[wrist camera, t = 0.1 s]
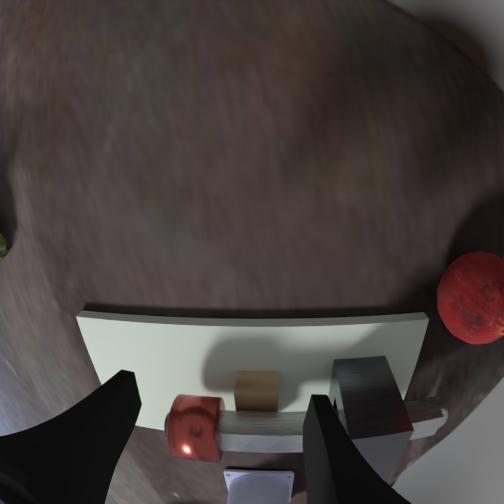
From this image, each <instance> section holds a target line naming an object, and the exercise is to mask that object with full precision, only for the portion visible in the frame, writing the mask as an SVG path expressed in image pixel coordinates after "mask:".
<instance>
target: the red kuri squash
mask: <svg viewBox="0 0 504 504" xmlns="http://www.w3.org/2000/svg"><path fill="white" fill-rule="evenodd" d="M437 303H438V312H439V314H440V317H441V319H442V321H443V322H444V324H445V326H446V327H447V329H448V330H449V331H450V332H451V333H452V334H453V335H454V336H456V337H457V338H459V339H461V340H463V341H465V342H467V343H470V344H485V343H490V342H493V341H495V340H497V339H499V338H501V337H502V336H504V261H503V260H501V259H500V258H499V257H498V256H497V255H494V254H490V253H486V252H482V251H476V252H472V253H467V254H463V255H461V256H460V257H459V258H457V259H456V260H454V261H453V262H452V263H451V264H450V265H449V267H448V268H447V269H446V270H445V272H444V273H443V274H442V277H441V280H440V283H439V285H438V288H437Z"/></svg>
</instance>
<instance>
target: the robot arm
mask: <svg viewBox="0 0 504 504" xmlns="http://www.w3.org/2000/svg"><path fill="white" fill-rule="evenodd" d="M141 406H142V402H141V398H140V394H139V390H138V386H137V381H136V377H135V373H134V372H131V371H127V370H123V369H121V370H120V371H119V372H117V373H116V374H115V375H114V376H112V377H111V378H110V379H109V380H107V381H106V382H105V383H104V384H102V385H101V386H100V387H99V388H97V389H96V390H95V391H94V392H92V393H91V394H90V395H88V396H87V397H86V398H84V399H83V400H81V401H80V402H79V403H77V404H76V405H74V406H73V407H71V408H70V409H68V410H67V411H65V412H63V413H62V414H60V415H58V416H56V417H54V418H52V419H50V420H48V421H46V422H44V423H41V424H39V425H37V426H34V427H32V428H29V429H26V430H24V431H20V432H17V433H13V434H10V435H5V436H0V504H105V500H106V496H107V492H108V489H109V485H110V482H111V479H112V476H113V473H114V469H115V467H116V465H117V462H118V460H119V458H120V456H121V454H122V452H123V450H124V447H125V445H126V443H127V441H128V439H129V437H130V435H131V433H132V431H133V429H134V427H135V424H136V422H137V419H138V416H139V413H140V409H141ZM302 447H303V457H304V467H305V476H306V486H307V504H411V503H410V502H409V501H407V500H406V499H404V498H403V497H402V496H401V495H399V494H398V493H397V492H396V491H395V490H394V489H393V488H392V487H391V486H390V485H389V484H387V483H386V482H385V481H384V480H383V479H382V478H381V477H380V476H379V475H378V474H377V472H376V471H375V470H374V469H373V468H372V467H371V466H370V464H369V463H368V462H367V461H366V459H365V458H364V457H363V456H362V454H361V453H360V451H359V450H358V449H357V447H356V446H355V444H354V443H353V441H352V440H351V438H350V436H349V435H348V433H347V431H346V430H345V428H344V426H343V425H342V423H341V421H340V419H339V417H338V415H337V414H336V412H335V410H334V408H333V405H332V403H331V401H330V399H329V397H328V396H327V395H323V394H311V398H310V401H309V405H308V409H307V412H306V416H305V419H304V423H303V446H302ZM224 476H225V480H226V484H227V488H228V491H229V492H228V499H227V504H289V502H290V501H291V494H292V487H293V480H294V472H293V471H255V470H236V469H225V470H224Z"/></svg>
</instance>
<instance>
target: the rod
mask: <svg viewBox="0 0 504 504" xmlns="http://www.w3.org/2000/svg"><path fill="white" fill-rule="evenodd" d="M404 404H405V406H406V409H407V412H408V414H409V417H410V420H411V423H412V425H413V428H414V432H413V434H412V436H411V438H410V440H412V439H417V438H422V437H426V436H431V435H434V434H435V432H436V431H437V429H438V428H440V427H441V426H443V425H444V423H445V422H446V420H447V418H448V410H447V407H446V406H445V405H444V404H442V403H440V402H437V400H436V398H435V397H430V398H425V399H420V400H414V401H408V402H404ZM306 412H307V411H297V412H258V411H231V410H225V403H224V400H223V398H222V397H210V396H197V395H186V394H179V395H177V396H176V398H175V399H174V401H173V404H172V406H171V410H170V412H169V413H168V414H167V415H166V418H165V423H164V431H165V435H166V436H167V437H168V443H169V448H170V451H171V453H172V455H173V456H174V457H176V458H183V459H190V460H197V461H206V462H216V463H218V462H219V461H220V460H221V457H222V454H223V450H224V451H239V452H265V453H292V452H303V447H302V446H303V423H304V419H305V416H306ZM335 412H336V414H337V415H338V410H335ZM338 417H339V416H338Z"/></svg>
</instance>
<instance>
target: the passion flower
mask: <svg viewBox="0 0 504 504" xmlns="http://www.w3.org/2000/svg"><path fill="white" fill-rule="evenodd" d="M6 244H7V243H6V240H5V239H4V237H3V236H2V235H1V234H0V248H2V247H4V246H5V245H6ZM8 252H9V249H6V250H5V251H0V261H1V260H3V258H4V257H5V256H6V255H7V254H8Z"/></svg>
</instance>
